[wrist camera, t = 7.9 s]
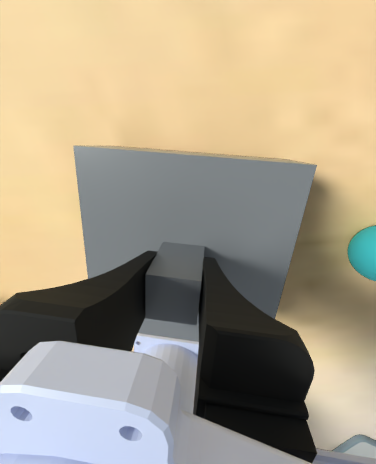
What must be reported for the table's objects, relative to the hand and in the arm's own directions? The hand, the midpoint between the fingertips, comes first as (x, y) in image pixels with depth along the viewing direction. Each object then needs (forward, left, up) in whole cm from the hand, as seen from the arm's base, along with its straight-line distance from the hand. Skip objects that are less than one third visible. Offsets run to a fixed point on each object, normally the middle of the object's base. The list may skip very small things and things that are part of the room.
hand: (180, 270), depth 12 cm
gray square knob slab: (0, 0, -6) cm, 6 cm away
